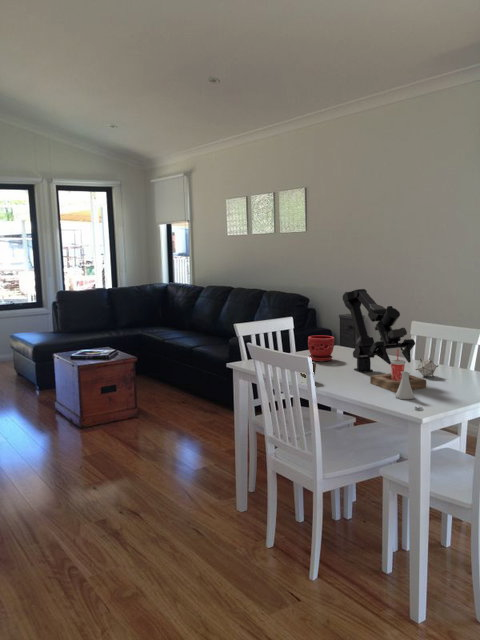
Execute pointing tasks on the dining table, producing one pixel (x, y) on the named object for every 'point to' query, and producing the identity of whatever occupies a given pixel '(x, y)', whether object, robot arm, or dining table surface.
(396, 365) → the beverage cup
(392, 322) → the robot arm
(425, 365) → the spiky beige ball
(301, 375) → the cup
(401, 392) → the flask
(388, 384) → the base board
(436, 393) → the dining table surface
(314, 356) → the plant pot
